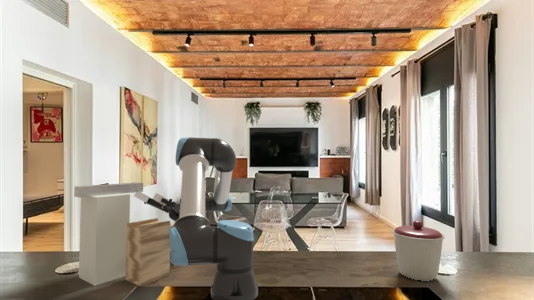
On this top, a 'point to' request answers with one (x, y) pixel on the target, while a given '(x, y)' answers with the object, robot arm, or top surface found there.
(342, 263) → the top surface
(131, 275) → the light brown boxy piece
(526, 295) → the top surface
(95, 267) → the unit
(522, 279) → the top surface
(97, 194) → the rail
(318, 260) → the top surface
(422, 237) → the canister
